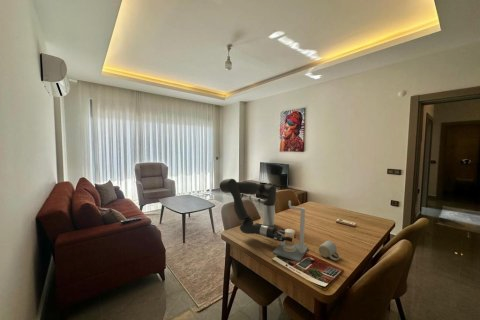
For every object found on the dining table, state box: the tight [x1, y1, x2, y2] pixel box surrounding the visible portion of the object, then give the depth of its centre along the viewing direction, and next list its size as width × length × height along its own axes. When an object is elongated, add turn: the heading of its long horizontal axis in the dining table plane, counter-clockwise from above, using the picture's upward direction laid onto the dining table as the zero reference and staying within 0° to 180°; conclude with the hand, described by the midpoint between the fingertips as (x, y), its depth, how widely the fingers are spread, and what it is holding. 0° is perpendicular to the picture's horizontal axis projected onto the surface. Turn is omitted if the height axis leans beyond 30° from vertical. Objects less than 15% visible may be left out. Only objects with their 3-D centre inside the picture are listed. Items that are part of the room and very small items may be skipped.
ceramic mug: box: [318, 240, 340, 261], centre depth 117 cm, size 11×8×8 cm
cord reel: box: [284, 228, 296, 249], centre depth 123 cm, size 6×6×10 cm
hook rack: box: [272, 200, 309, 263], centre depth 122 cm, size 18×16×31 cm
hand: (293, 238), depth 121 cm, fingers closed on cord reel, 5 cm apart
